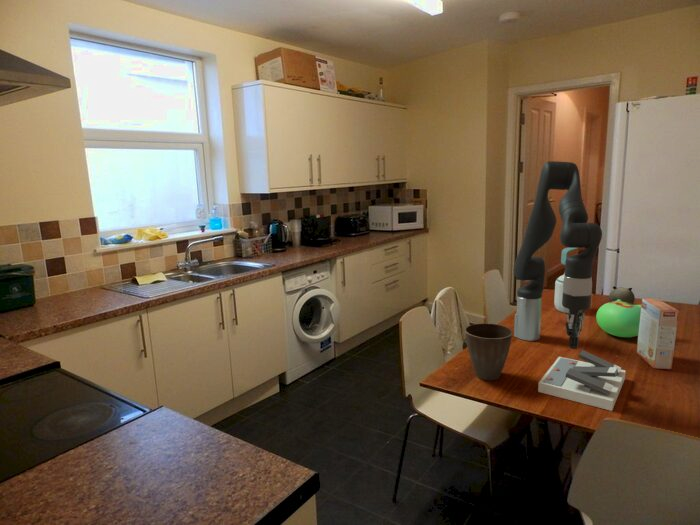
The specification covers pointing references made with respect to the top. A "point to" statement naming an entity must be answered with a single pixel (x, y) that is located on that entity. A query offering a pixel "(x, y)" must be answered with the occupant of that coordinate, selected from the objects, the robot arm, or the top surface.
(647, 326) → the cracker box
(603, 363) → the block
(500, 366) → the plant pot
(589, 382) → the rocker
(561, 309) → the soap bottle
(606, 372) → the rocker
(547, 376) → the switch unit
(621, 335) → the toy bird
